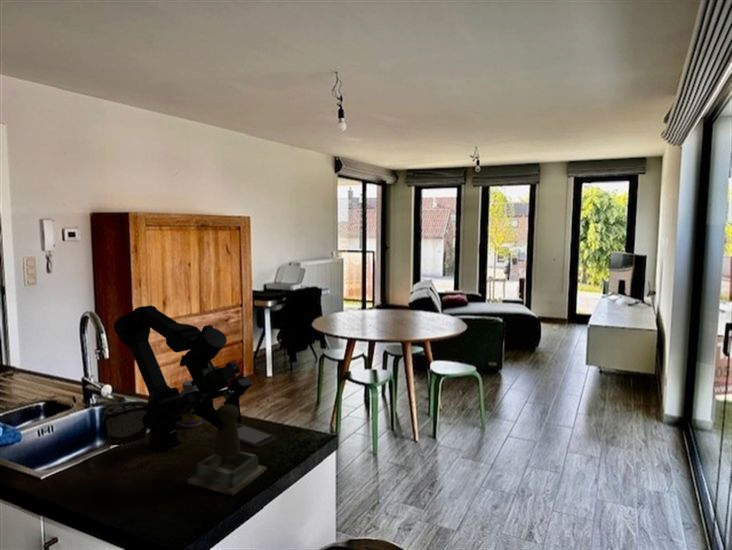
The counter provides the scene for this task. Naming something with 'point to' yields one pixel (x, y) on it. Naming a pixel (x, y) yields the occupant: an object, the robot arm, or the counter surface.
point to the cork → (227, 431)
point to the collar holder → (227, 472)
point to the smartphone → (253, 436)
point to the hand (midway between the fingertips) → (231, 425)
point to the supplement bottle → (190, 419)
